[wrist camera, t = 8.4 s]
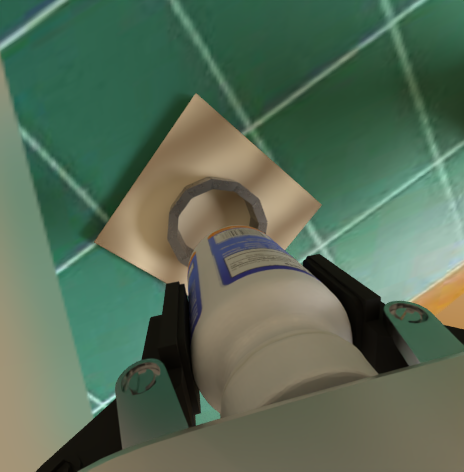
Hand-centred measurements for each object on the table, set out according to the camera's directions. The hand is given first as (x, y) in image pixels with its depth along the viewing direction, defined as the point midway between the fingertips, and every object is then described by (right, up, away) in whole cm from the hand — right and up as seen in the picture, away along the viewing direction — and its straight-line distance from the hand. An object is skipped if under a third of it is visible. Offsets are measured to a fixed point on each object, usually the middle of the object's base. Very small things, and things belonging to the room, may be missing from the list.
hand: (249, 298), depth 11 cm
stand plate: (-3, +5, +15) cm, 16 cm away
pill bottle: (-1, +1, +4) cm, 4 cm away
